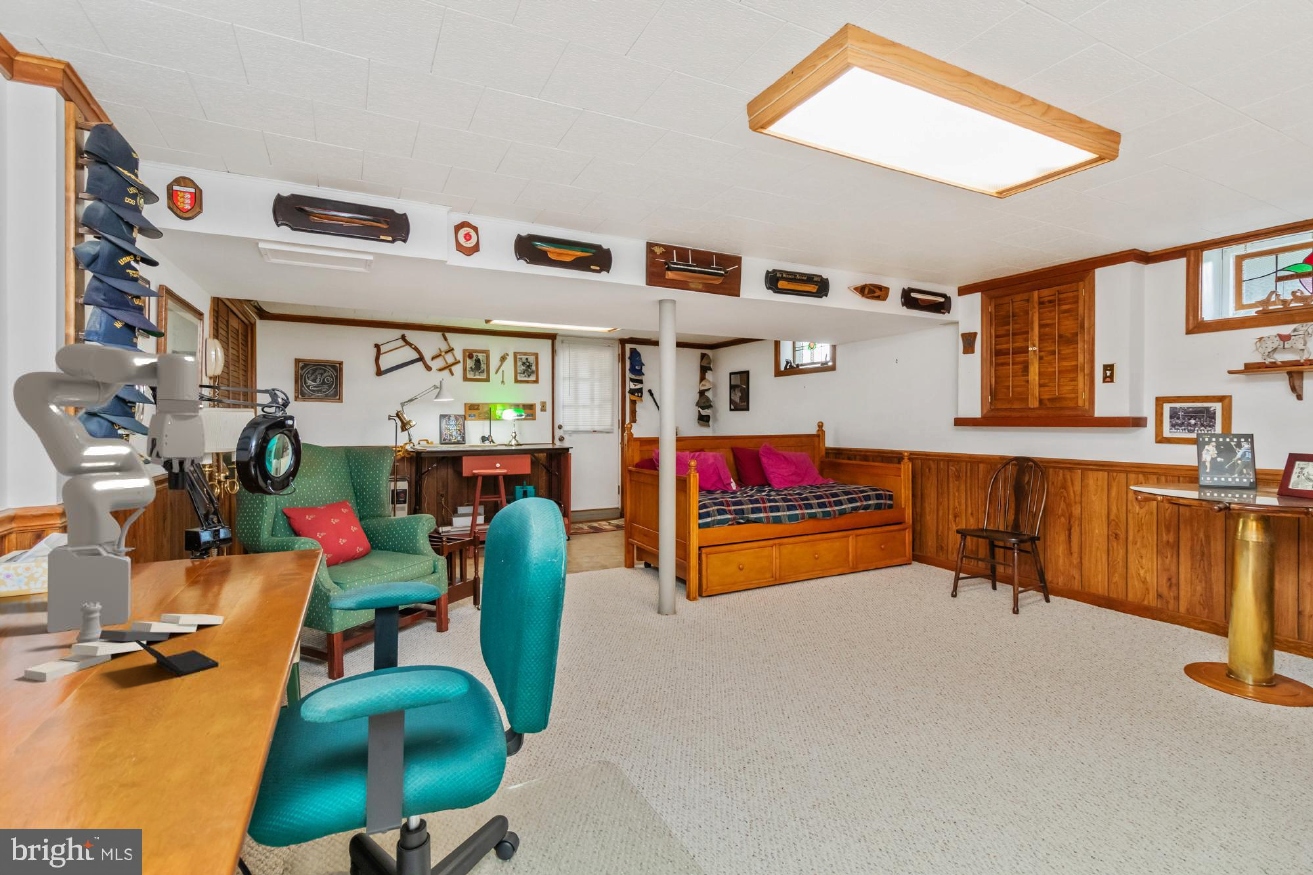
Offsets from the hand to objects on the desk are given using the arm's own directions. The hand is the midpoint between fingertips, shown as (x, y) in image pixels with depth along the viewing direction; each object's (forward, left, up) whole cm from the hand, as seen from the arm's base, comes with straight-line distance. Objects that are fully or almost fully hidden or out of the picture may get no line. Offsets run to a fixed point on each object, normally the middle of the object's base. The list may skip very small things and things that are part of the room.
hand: (177, 489), depth 138 cm
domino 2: (+19, -8, -28) cm, 35 cm away
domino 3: (+16, -4, -28) cm, 33 cm away
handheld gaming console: (+36, -2, -30) cm, 47 cm away
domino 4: (+13, +1, -28) cm, 31 cm away
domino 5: (+10, +6, -28) cm, 31 cm away
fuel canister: (-4, -13, -29) cm, 32 cm away
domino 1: (+22, -12, -28) cm, 38 cm away
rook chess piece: (+11, -14, -29) cm, 34 cm away
